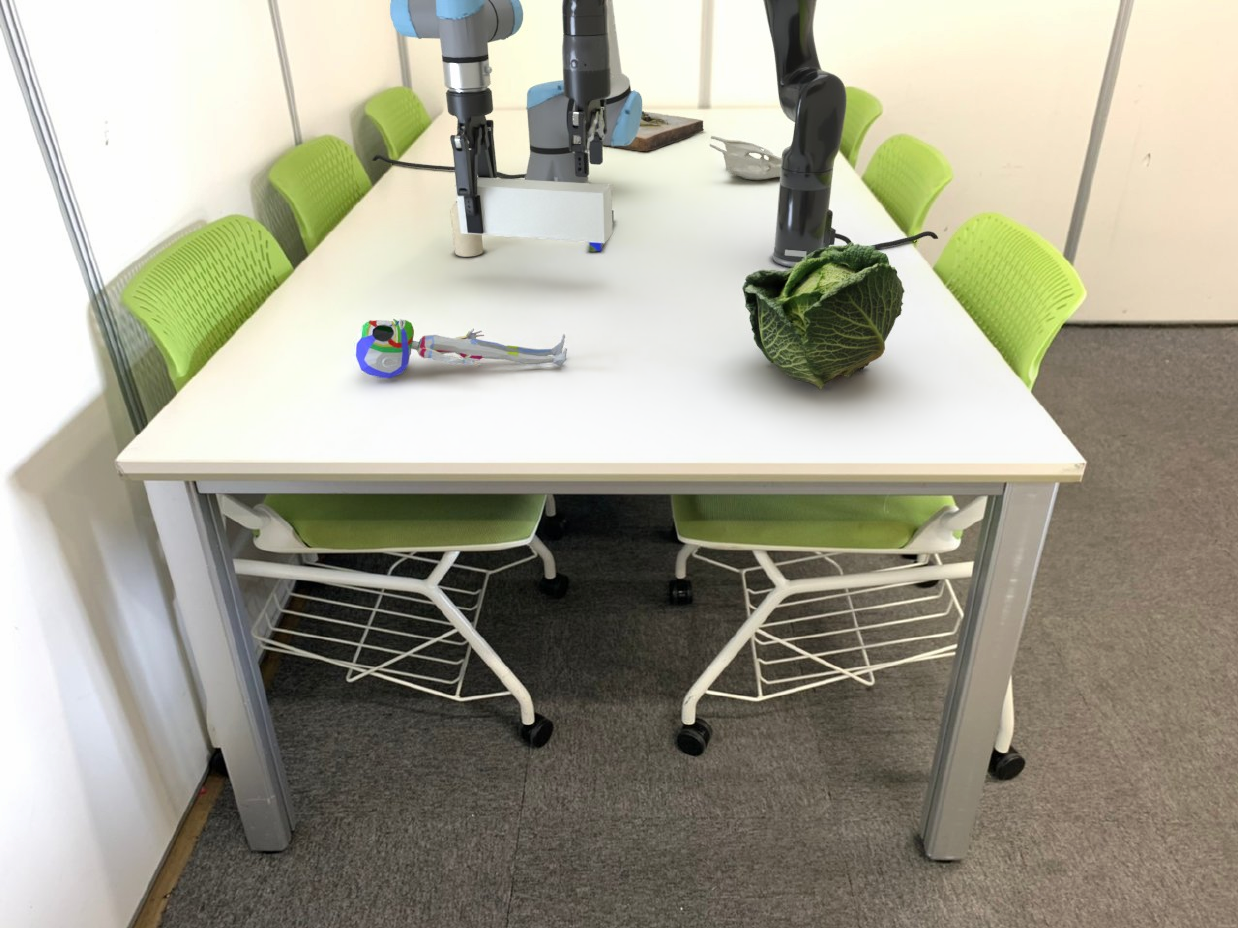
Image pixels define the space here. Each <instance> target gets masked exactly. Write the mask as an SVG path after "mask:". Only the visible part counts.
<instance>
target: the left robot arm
mask: <svg viewBox="0 0 1238 928" xmlns="http://www.w3.org/2000/svg"><path fill="white" fill-rule="evenodd" d="M613 2H614V0H607V6H608V37H609V44H610V76H611V94H610V96H609V97H607V98H606V120H607V133H606V134H604V140H601V141H602V142H603V146H605V145H611V146H627V145H629V144H630V143H632V141H633V140H634V139H635V137H636V135H637V132H638V129H639V126H640V122H641V116H642V111H643V98H642V95H641V93H640V92H639V91H636V90H634V89H633V90H632V87H631V81H630V78H629V77H628V76H627V75H626V74H624V73H623V72H622V64H621V56H620V48H619V40H618V33H617V25H616V24H617V23H616V18H615V17H616V16H615V10H614V9H615V8H614V3H613ZM389 5H390V6H389V13H390V14H389V15H390V19H391V21H392V25H393V27H394V28H395V30H396V32H397V33H398V34H399V35H401V36H403V37H407V38H415V39H416V38H417V39H418V40H422V39H437V40H438V39H439V41H440V49H441V59H442V61H441V63H442V72H443V82H444V87H445V88H447V90H446V91H445V97H446V106H447V108H446V109H447V113H448V114H449V115H450V116H452V117H456V119H457V124H456V125H457V126H456V134H451V135H450V137H449V140H450V144H451V149H452V155H453V166H448V165H434V164H423V163H415V162H414V163H413V162H407V161H401V160H396V159H392V158H387V157H385V156H384V155H382V154H376V155H374V157H373V158H372V161H373V162H376V161H377V160H379V159H380V160H382V161H384V162H386V163H388V164H393V165H399V166H404V167H409V168H410V167H411V168H417V169H418V168H419V169H428V170H438V171H439V170H440V171H453V172H454V176H455V185H456V186H455V189H456V188H457V195H458V196H464V204H465V213H466V222H467V232H468V233H477V234H482V233H484V232H483V222H482V211H481V201H480V195H477V177H481V178H498V177H499V178H502V179H517V180H519V179H524V180H536V181H554V182H572V183H589V175H588V176H587V177H577V176H576V175H575V159H574V153H573V152H572V151H569V133H568V113H569V111H575V104H576V103H575V101H574V100H573V99H568V98H566V97H565V96H564V85H563V79H560V80H554V81H547V82H543V83H539V84H535V85H532V86H531V87H530V88H529V89H528V90H527V93H526V107H525V108H526V109H525V110H526V113H527V127H528V140H529V141H528V142H529V157H528V162H527V168H526V172H525V173H519V174H507V173H503V172H500V171H498V168H497V156H496V147H495V136H494V125H495V124H494V120H493V119H487V117H486V116H488V115H490V114H491V113H492V112H493V111H494V103H493V101H494V100H493V91H492V89H491V88H489V86H490V85H492V84H491V83H492V81H491V74H492V72H493V68H492V67H491V66H490V59H489V58H490V56H489V47H488V46H489V43H493V42H496V41H500V40H503V41H505V40H506V39H509V38H510V37H513V36H514V35H515V34H517V33H518V32H519V31H520V29H521V27H522V24H523V21H524V10H523V5H522V3H521V1H520V0H390V4H389ZM578 144H581V140H579V141H578ZM611 146H610V147H611ZM457 195H456V196H457Z"/></svg>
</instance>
